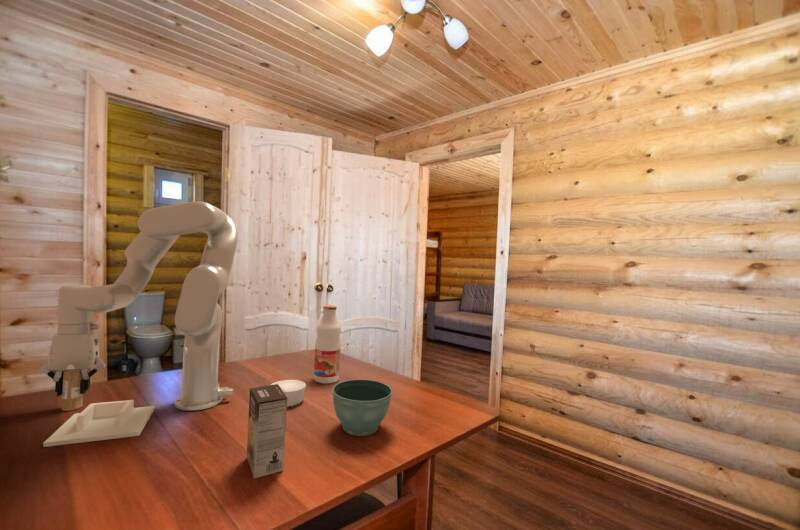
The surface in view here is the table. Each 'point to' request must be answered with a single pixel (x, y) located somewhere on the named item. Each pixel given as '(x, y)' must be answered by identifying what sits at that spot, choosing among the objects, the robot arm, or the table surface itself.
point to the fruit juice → (327, 347)
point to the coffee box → (266, 430)
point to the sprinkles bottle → (71, 389)
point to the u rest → (102, 423)
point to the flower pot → (361, 405)
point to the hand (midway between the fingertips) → (72, 392)
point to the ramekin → (292, 390)
